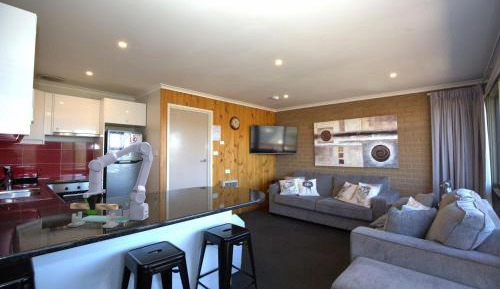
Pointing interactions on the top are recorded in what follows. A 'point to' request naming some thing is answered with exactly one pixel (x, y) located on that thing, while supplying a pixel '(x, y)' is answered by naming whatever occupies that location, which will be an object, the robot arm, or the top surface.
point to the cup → (90, 210)
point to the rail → (98, 206)
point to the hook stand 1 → (76, 220)
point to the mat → (103, 219)
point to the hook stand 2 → (110, 221)
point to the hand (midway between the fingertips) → (94, 209)
